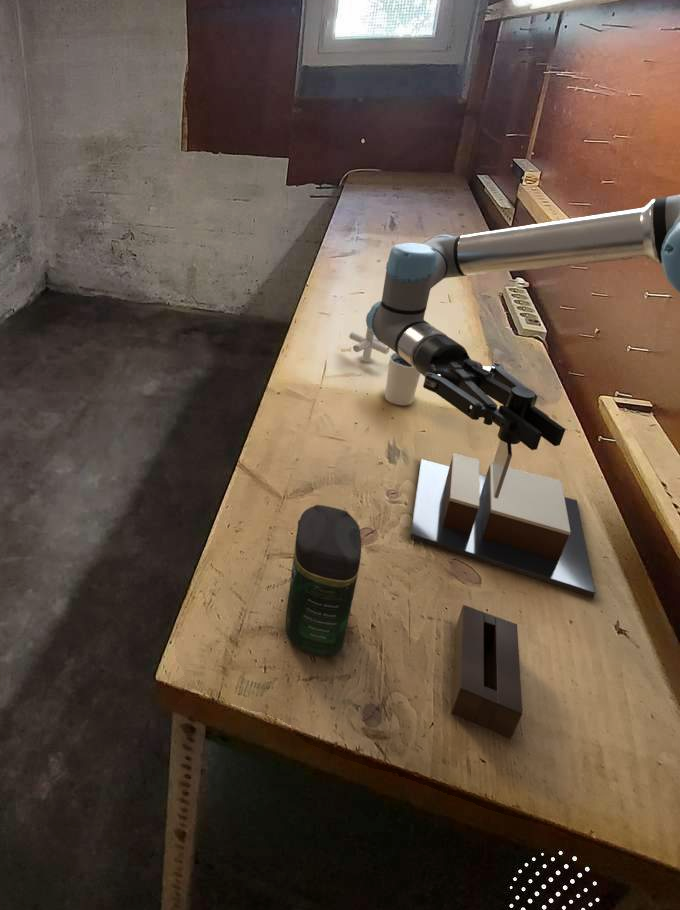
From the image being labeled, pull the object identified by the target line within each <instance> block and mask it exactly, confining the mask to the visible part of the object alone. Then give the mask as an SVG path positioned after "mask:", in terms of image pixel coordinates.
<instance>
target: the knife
mask: <svg viewBox="0 0 680 910" xmlns="http://www.w3.org/2000/svg"><path fill="white" fill-rule="evenodd" d="M535 394H536V392H535V391H533V390H532V389H530V388H529V387H527V388H525V387H513V388H512V390H511V393H510V396H509V399H508V403H507V406H506V407H508V408H509V409H510V410H512V411H513V412H515V413H516V414H517V415H519V416H520V417H521V418H523V419H524V420H525V421H527V420H528V417H529V414H530V410H531V407H532V404H533V401H534V398H535ZM497 438H498V439H499V442H498V446H497V449H496V452H495V456H494V458H493V462H492V463H493V484H494V498H498V497H499V494H500V491H501V488H502V485H503V482H504V479H505V476H506V472H507V469H508V467H510V464H511V460H512V457H513V450H512V445H518V444H520V443H521V441H519V440H518V439H517V438H516V437H514V436H513V435H512V434H511V433H509V432H506V431H504V430H503V429H501V428H500V427H499V429H498V431H497Z"/></svg>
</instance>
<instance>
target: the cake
mask: <svg viewBox="0 0 680 910" xmlns="http://www.w3.org/2000/svg"><path fill="white" fill-rule="evenodd" d="M485 476H486V479H485V482H484V485H483V488H482V538H485V539H488V540H491V541H495V542H498V543H501V544H504V545H508V546H511V547H514V548H517V549H521V550H524V551H527V552H530V553H534V554H537V555H540V556H543V557H547V558H550V559H553V560H556V561H559V559H560V557H561V554H562V552H563V549H564V547H565V545H566V542H567V540H568V538H569V535H570V533H571V532H570V526H569V520H568V515H567V509H566V504H565V498H564V497H565V492H564V487H563V481H562V480H561V479H558V478H557V479H556V478H554V477H548V476H545V475H541V474H537V473H533V472H529V471H525V470H521V469H518V468H514V467H510V466H508V469H507V472H506V476H505V479H504V482H503V485H502V488H501V491H500V494H499V497H498V498H494V484H493V462H490V463H489V465H488V469H487V473H486V475H485Z"/></svg>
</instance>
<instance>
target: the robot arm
mask: <svg viewBox="0 0 680 910" xmlns="http://www.w3.org/2000/svg"><path fill="white" fill-rule="evenodd" d="M388 255H389V256H388V259H387V262H386V266H385V269H386V271H385V276H384V282H383V283H384V284H383V289H382V296H381V300H379V301H377V302H376V303H374V304H373V305H372V306H371V308H370V310H369V311H368V312H367V314H366V317H365V323H366V328H367V327H368V329H369V330H370V331H371V332H372V333H373V334H374V336H376V338H377V339H378V340H379V341H380V342H379V343H381V344H383V345H384V346H387V347H389V349H390V350H392V351H393V352H394V353H395V352H396V353H397V354H398V355H399V356H400V357H402V358H403V359H404V360H406V361H407V362H408V363H409V364H410V365H412V366H413V367H414V368H415V369H417V370H418V371H419V372H420V375H422V376H423V377H424V381H423V385H422V387H423V388H424V389H425V390H427V391H430V392H432V393H433V394H434V393H435V394H436V395H438V396H439V397H440V398H441V399H443V400H445V402H447V403H449V404H450V405H451V406H453V407H454V408H456V409H457V410H458V411H460V412H461V413H463V414H464V415H465V416H467V417H468V418H470V419H472V420H475V421H478V420H479V419H480V418H483V422H482V423H483V424H484V425H486V426H492V425H493V424H495V425H496V426H498V427H499V429H500V428H501V429H503V430H504V431H506V432H509V433H511V434H512V435H513V436H514V437H516V438H517V439H518V440H519V441H520V443H521V444H523V445H524V446H526V447H527V448H528V449H529V450H531V451H537V450H538V447H539V445H540V442H541V439H542V438H543V439H544V440H546V441H547V442H548V443H550V444H551V445H552V446H554V447H558V446H560V445H561V443H562V440H563V437H564V435H565V433H566V428H565V427H563V426H562V425H560V424H559V423H557V422H556V421H555V420H553V419H552V418H550V417H549V415H548V414H546V413H545V412H544V411H542V410H541V409H540V408H538V407H537V406H536V403H537V400H538V394H536V393H535V398H534V401H533V404H532V407H531V410H530V414H529V417H528V420H527V421H525V420H524V419H523V418H521V417H520V416H519V415H517V414H516V413H515V412H513V411H512V410H510V409H509V408H508V407H506V406H507V403H508V399H509V396H510V393H511V390H512V388H513V387H525V388H528V387H527V386H526V385H525V384H523V383H522V381H519V380H518V379H517V378H516V377H514V376H513V375H512V374H510V373H509V372H508V371H506V370H505V368H504V366H503V365H502V364H501V363H499V362H493V363H492V365H491V366H487V365H486V366H485V365H483V364H482V363H481V362H479V361H476V360H474V359H471V357H470V355H469V353H468V351H467V349H466V348H465V347H464V346H463V345H462V344H460V343H459V342H457V341H456V340H454V339H453V338H451V337H450V336H448V335H447V334H446V333H444V332H442V331H441V330H440V329H438V328H437V327H435V326H434V325H431V323H429V322H428V321H426V320H425V314H426V310H427V307H428V302H429V298H430V293H431V289H433V288H434V287H435V286H436V285H437V284H438V283H440V282H441V281H443V280H444V279H448V278H449V279H450V278H457V277H458V278H459V277H467V276H477V275H486V274H495V273H507V272H517V271H525V270H526V271H527V270H536V269H537V270H538V269H546V268H557V267H568V266H577V265H587V264H596V263H606V262H607V263H608V262H617V261H618V262H619V261H626V260H629V261H630V260H636V259H637V260H639V259H650V260H652V261H653V262H654V263H657V264H661V267H662V270H663V273H664V275H665V278H666V279H667V282H668V283H669V284H670V285H671V286H672V287H673V288H674V289H675V291H677V292H678V293H679V294H680V194H675V195H670V196H664V197H657V198H653V199H651V200H650V201H649V202H648V203H646V205H645V206H643V207H639V208H631V209H624V210H619V211H611V212H606V213H598V214H592V215H586V216H580V217H572V218H566V219H561V220H560V219H559V220H553V221H547V222H540V223H534V224H527V225H526V224H525V225H521V226H513V227H507V228H500V229H494V230H488V231H482V232H474V233H468V234H462V235H455V236H454V235H451V234H439V235H435V236H432V237H429V238H428V239H427V240H424V242H422V243H420V242H419V243H418V242H403V243H398V244H396V245H394V246H393V247H392V248H391V249H390V252H389V254H388ZM495 401H496V402H497V403H499V404H500V405H499V408H498V404H497V403H496V402H495Z"/></svg>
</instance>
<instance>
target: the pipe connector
mask: <svg viewBox="0 0 680 910" xmlns="http://www.w3.org/2000/svg"><path fill="white" fill-rule="evenodd" d="M348 337H349V339H350V340H351V341H355V342H357V344H355V345H353V346H352V350H353V351H354V352H355V353H359V352H361V351H363V352H362V359H361V361H362V362H364V363H370V362H371V356H372V351H373V350H375V351H377V352H379V353H382V354H384V355H388V353H389V352H390V348H389V347H388V346H386V345H385V344H383V343H381V342H380V341H379V340H378V339H377V338H376V336H375V335H374V334H373V333H372V332H371V331H370V330H369V329H368V327H367V326H366V333H365V336H363V335H361V334H358V333H357V332H354V331H351V332H350V334H349V336H348Z"/></svg>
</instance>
